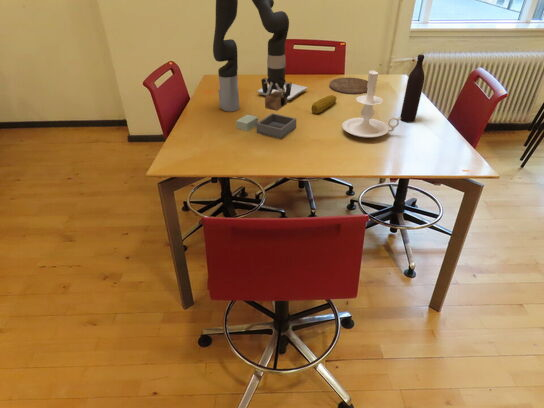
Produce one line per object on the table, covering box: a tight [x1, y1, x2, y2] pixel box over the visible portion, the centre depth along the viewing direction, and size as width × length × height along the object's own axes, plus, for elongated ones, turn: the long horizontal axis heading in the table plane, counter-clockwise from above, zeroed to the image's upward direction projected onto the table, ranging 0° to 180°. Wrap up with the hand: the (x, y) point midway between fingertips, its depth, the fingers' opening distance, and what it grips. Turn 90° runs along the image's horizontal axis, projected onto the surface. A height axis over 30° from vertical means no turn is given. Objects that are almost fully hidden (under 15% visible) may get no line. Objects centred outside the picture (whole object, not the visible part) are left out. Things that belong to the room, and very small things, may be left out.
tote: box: [255, 112, 297, 140], centre depth 174 cm, size 13×14×4 cm
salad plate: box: [256, 83, 308, 102], centre depth 213 cm, size 21×21×3 cm
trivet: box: [329, 77, 368, 95], centre depth 222 cm, size 25×25×2 cm
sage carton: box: [235, 114, 259, 132], centre depth 178 cm, size 6×9×4 cm, turn 147°
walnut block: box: [264, 91, 288, 112], centre depth 167 cm, size 6×9×5 cm, turn 148°
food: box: [311, 94, 337, 115], centre depth 195 cm, size 21×6×6 cm, turn 145°
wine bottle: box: [399, 54, 426, 123], centre depth 175 cm, size 7×7×30 cm
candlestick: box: [341, 70, 401, 139], centre depth 164 cm, size 21×25×28 cm
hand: (276, 104), depth 168 cm, fingers closed on walnut block, 6 cm apart
